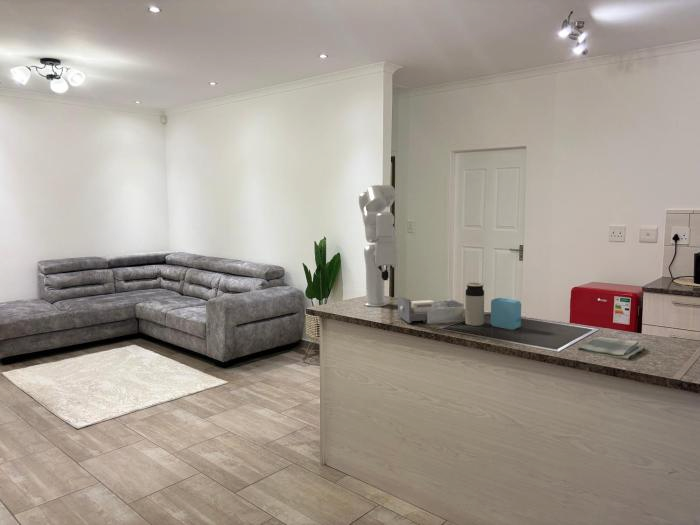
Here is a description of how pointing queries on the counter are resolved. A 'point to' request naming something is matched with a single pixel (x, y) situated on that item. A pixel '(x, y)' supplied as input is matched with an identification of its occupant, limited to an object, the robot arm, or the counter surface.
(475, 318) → the travel mug
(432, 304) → the cartridge
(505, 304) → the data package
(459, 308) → the grey storage bin
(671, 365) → the counter surface
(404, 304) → the grey drawer
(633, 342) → the dish towel
